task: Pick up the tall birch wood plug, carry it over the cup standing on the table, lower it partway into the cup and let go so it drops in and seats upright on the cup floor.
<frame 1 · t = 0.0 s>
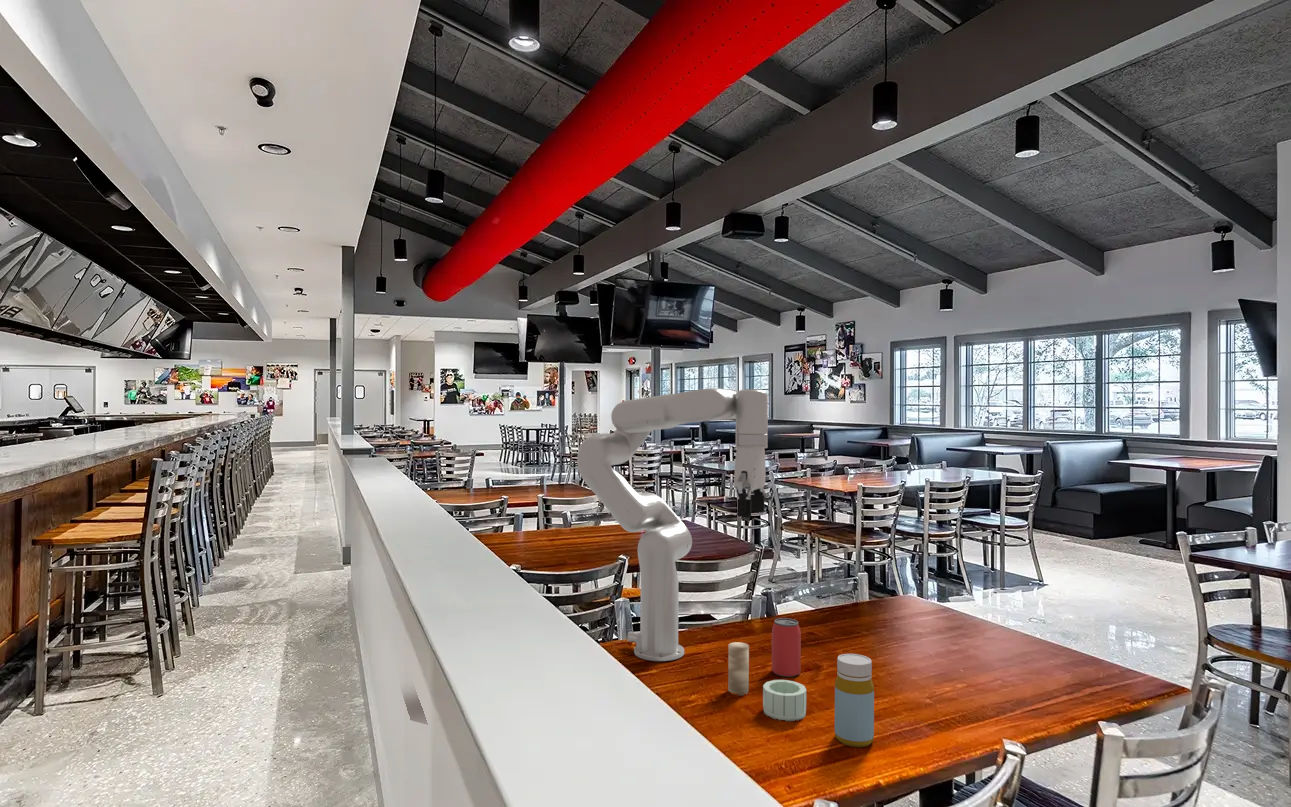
hand: (751, 513, 173), 37 cm above the table, tool pointing down, fingers open, 9 cm apart
cup: (784, 712, 148), on the table
bottle: (853, 740, 136), on the table
plug: (738, 691, 159), on the table
beer can: (786, 673, 170), on the table
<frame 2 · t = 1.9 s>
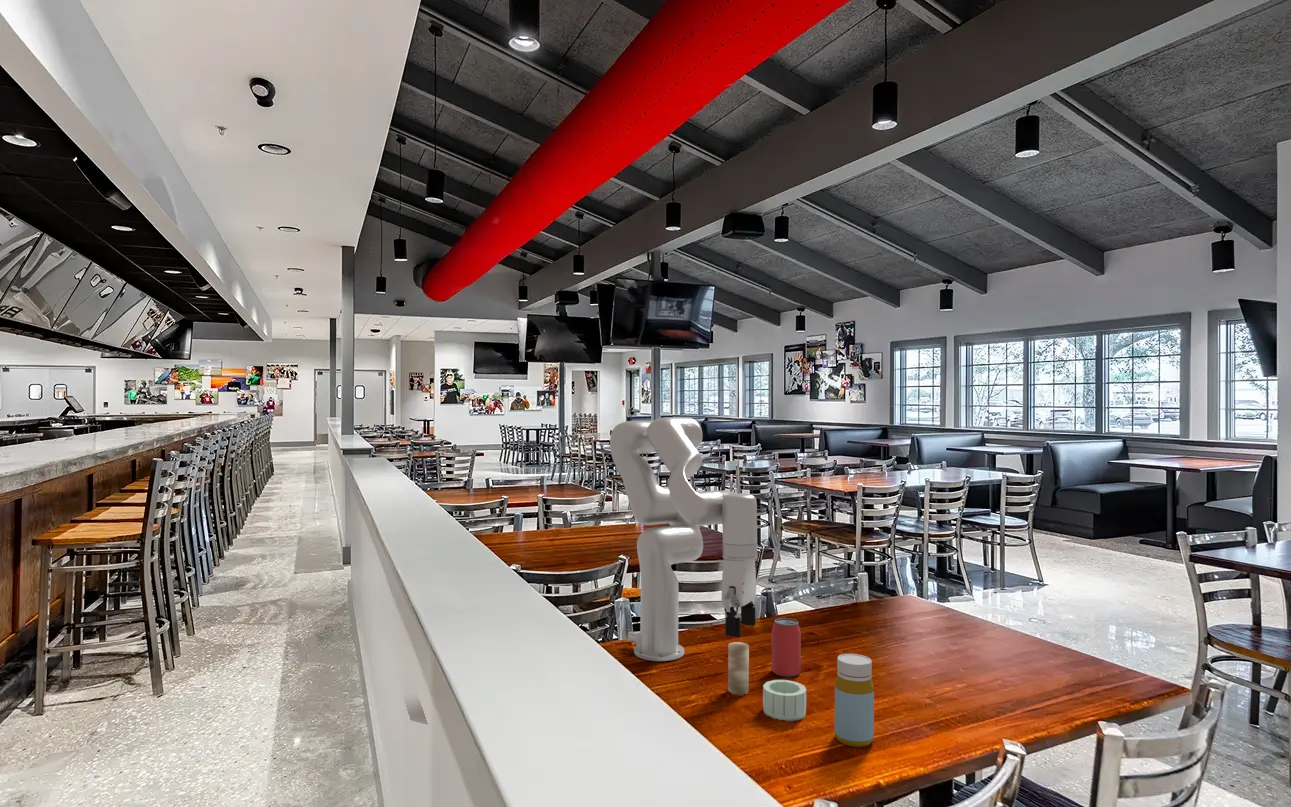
hand: (740, 630, 158), 13 cm above the table, tool pointing down, fingers open, 9 cm apart
nothing on the table moved.
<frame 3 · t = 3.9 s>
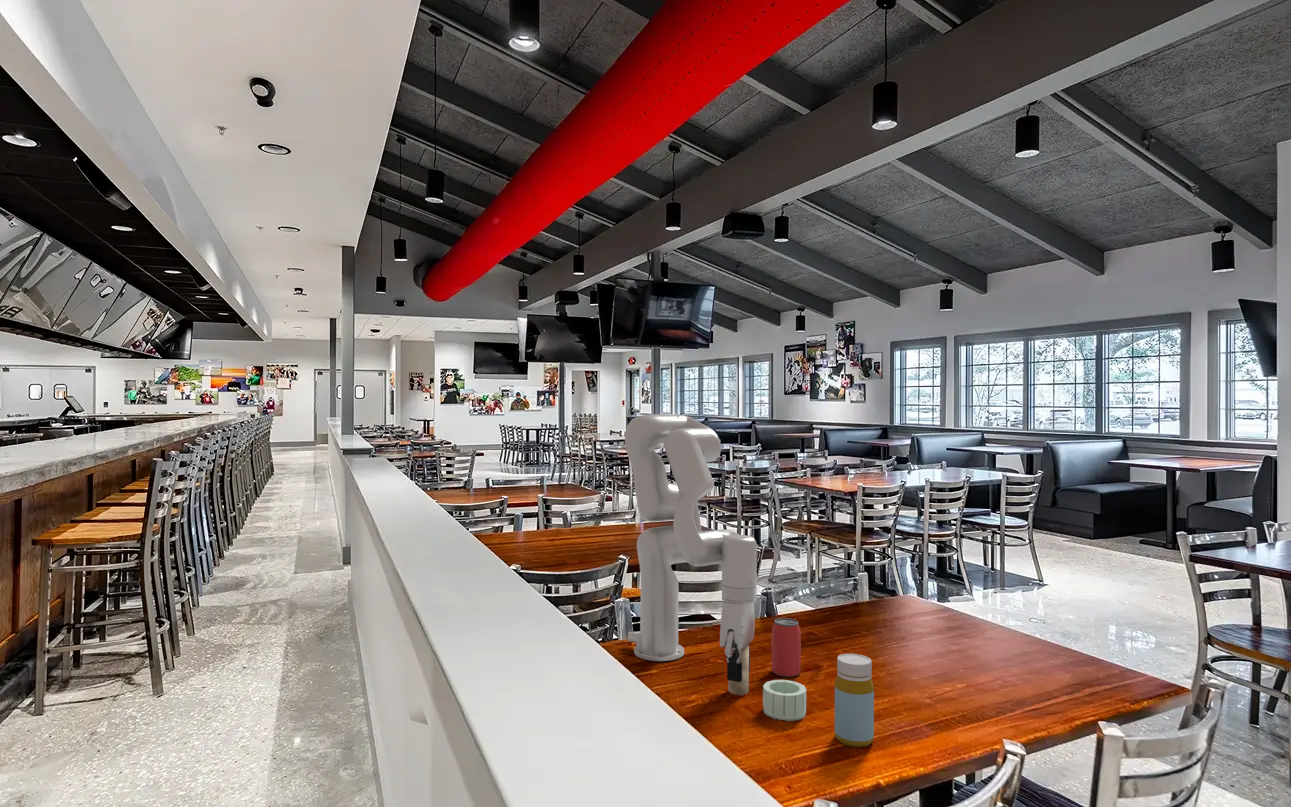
hand: (738, 676, 159), 3 cm above the table, tool pointing down, fingers closed on plug, 4 cm apart
plug: (738, 691, 159), on the table, touching gripper
everything else where it was.
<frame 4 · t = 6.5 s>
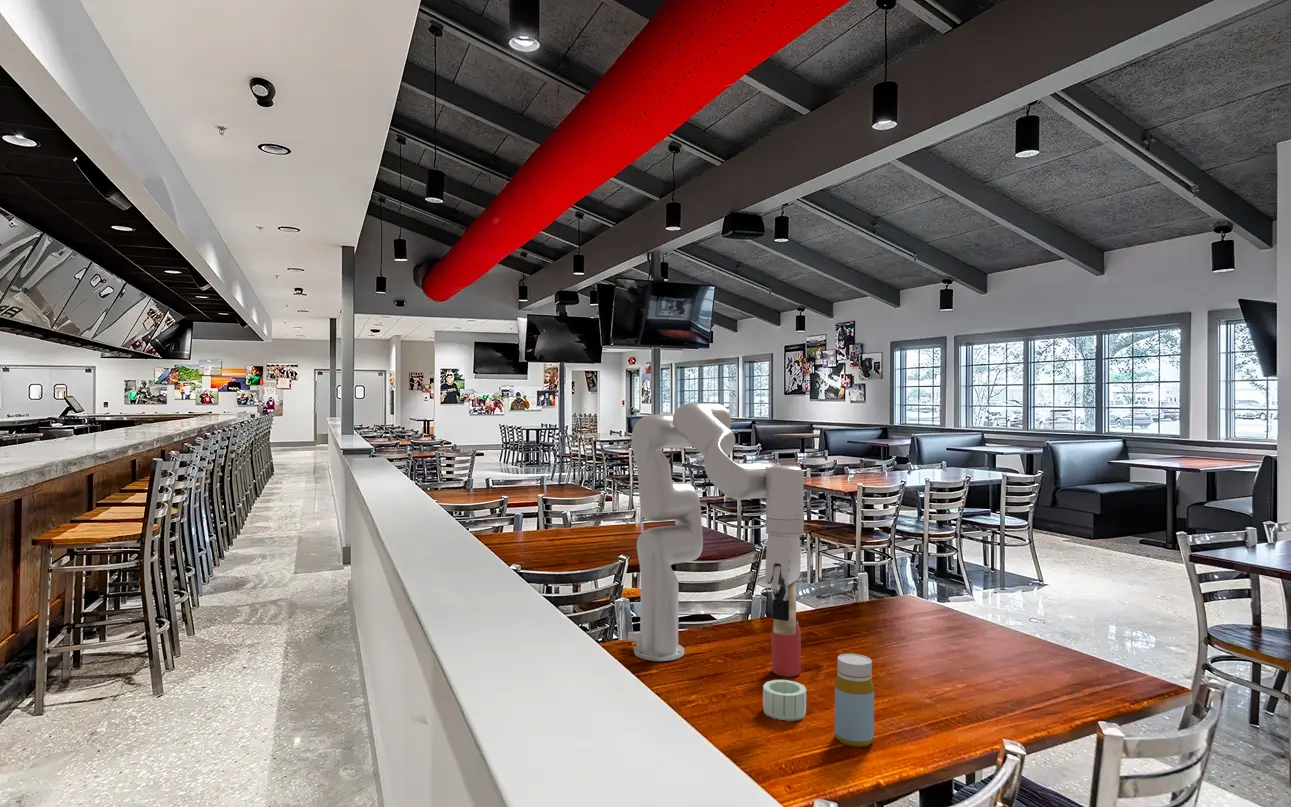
hand: (784, 615, 148), 20 cm above the table, tool pointing down, fingers closed on plug, 4 cm apart
plug: (784, 632, 148), point 16 cm above the table, touching gripper
everything else where it was.
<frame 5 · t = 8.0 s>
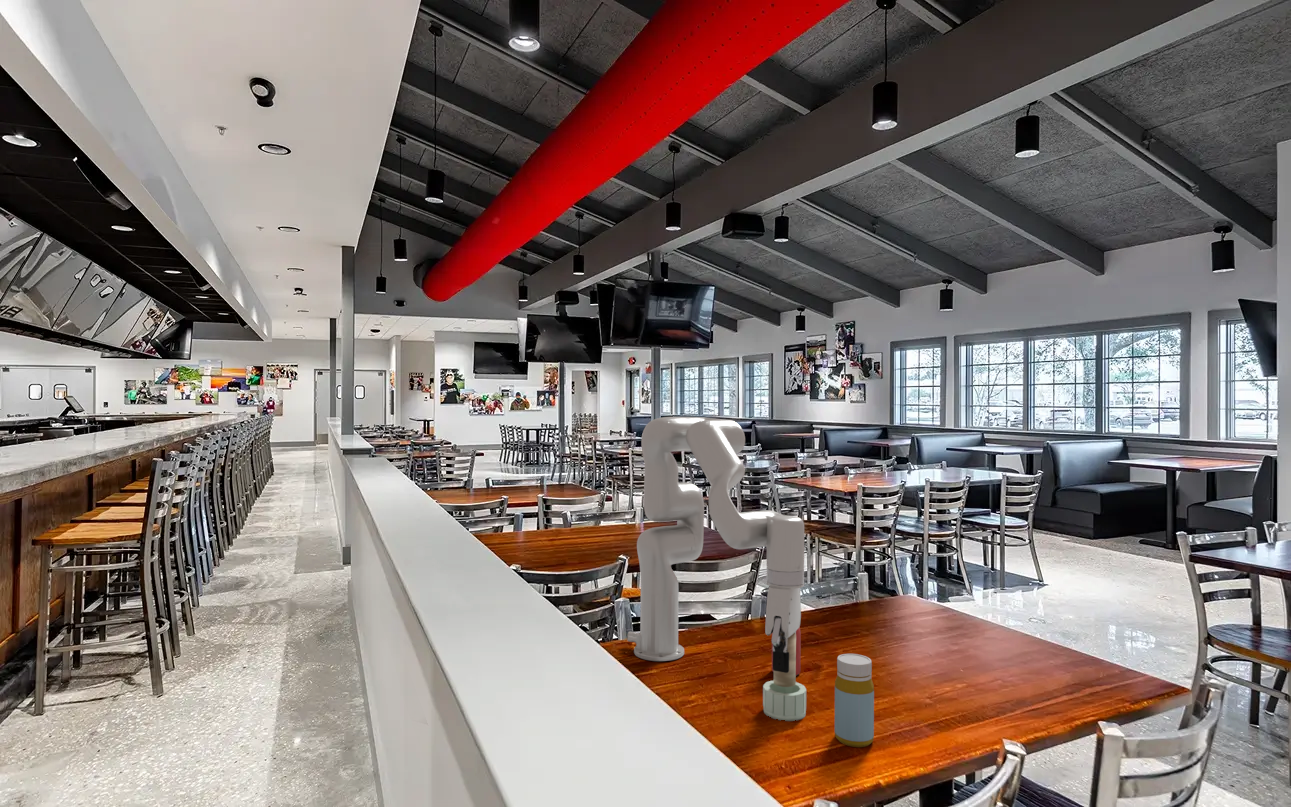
hand: (784, 666, 148), 9 cm above the table, tool pointing down, fingers closed on plug, 4 cm apart
plug: (784, 682, 148), point 6 cm above the table, touching gripper
everything else where it was.
when the fingers open (6 cm above the table, at t = 9.1 s): plug drops 1 cm, resting on cup.
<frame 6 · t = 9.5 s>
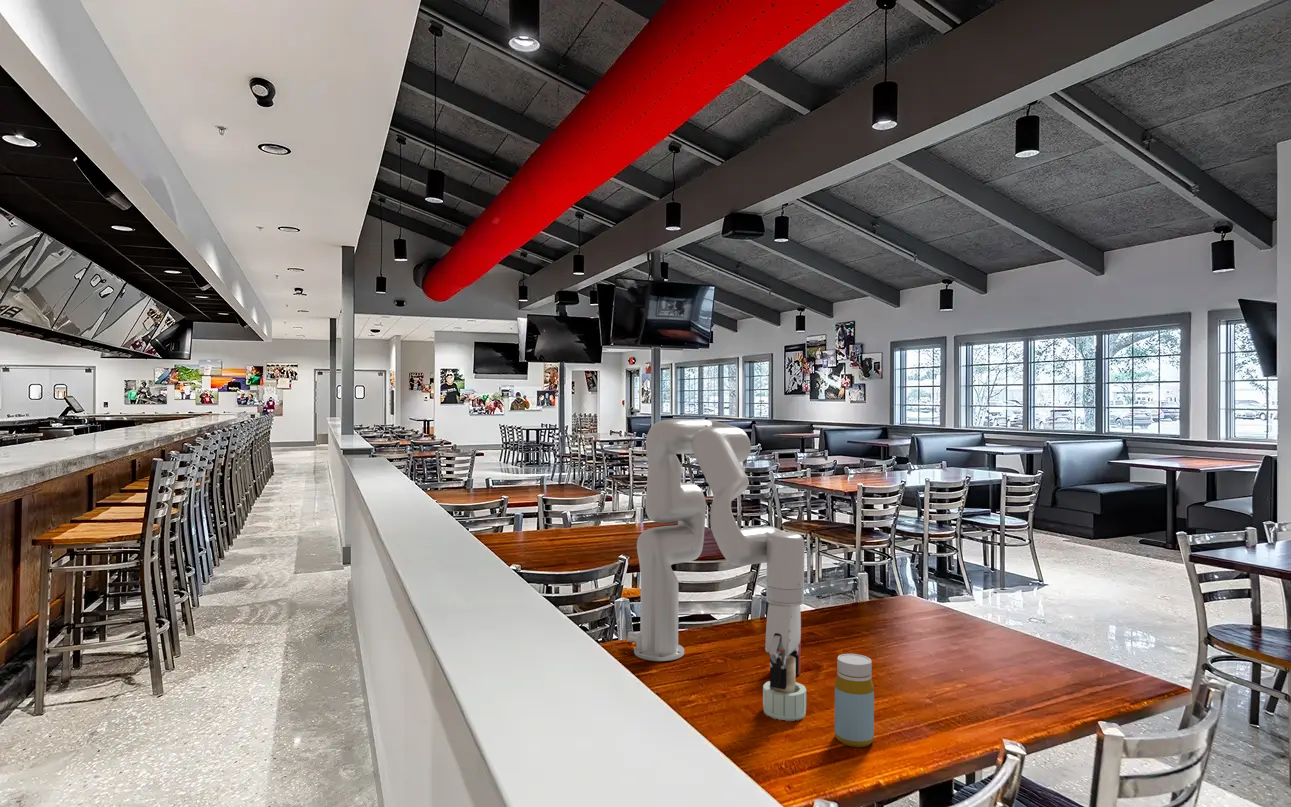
hand: (784, 680, 148), 7 cm above the table, tool pointing down, fingers open, 8 cm apart
plug: (784, 707, 148), point 1 cm above the table, touching cup
everything else where it was.
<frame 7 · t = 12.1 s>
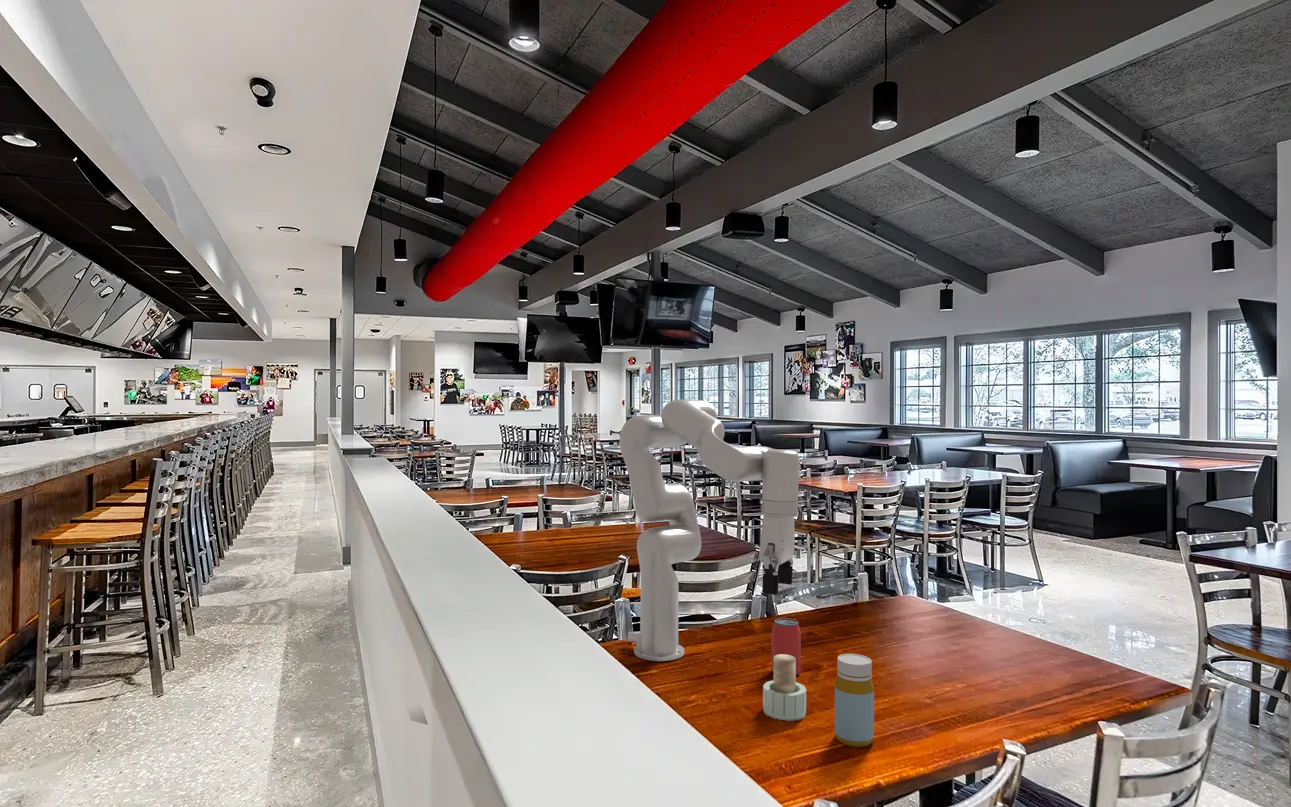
hand: (777, 588, 155), 23 cm above the table, tool pointing down, fingers open, 9 cm apart
nothing on the table moved.
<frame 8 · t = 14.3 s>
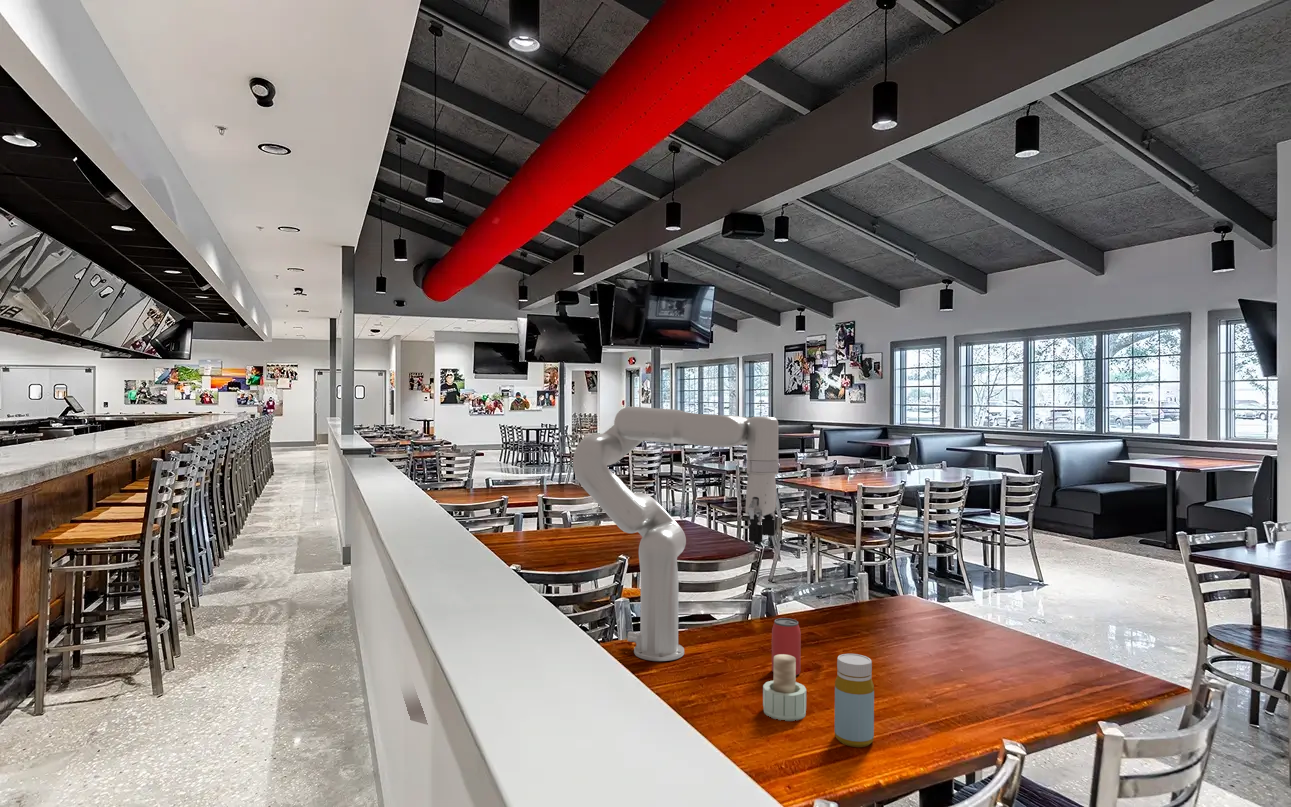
hand: (762, 538, 176), 30 cm above the table, tool pointing down, fingers open, 9 cm apart
nothing on the table moved.
at the end: plug 0.0 cm off-centre on the cup, point 1.0 cm above the cup's base; plug tilted 0°; the gripper is holding nothing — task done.
